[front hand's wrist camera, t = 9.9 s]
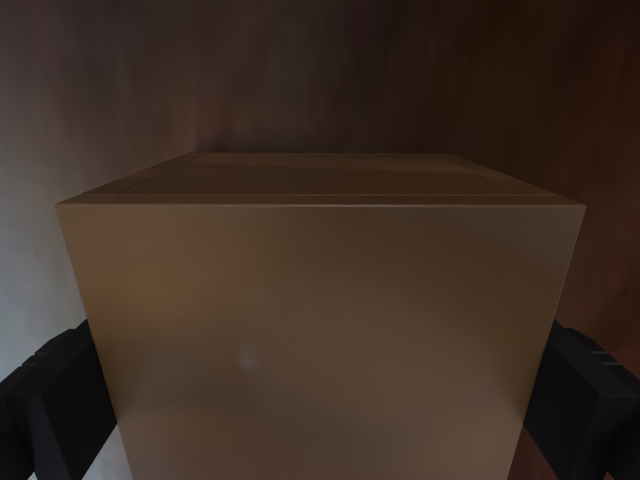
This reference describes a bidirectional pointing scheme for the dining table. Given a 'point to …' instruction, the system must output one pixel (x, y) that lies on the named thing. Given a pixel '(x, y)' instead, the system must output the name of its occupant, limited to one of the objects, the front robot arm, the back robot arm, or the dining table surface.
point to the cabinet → (320, 312)
